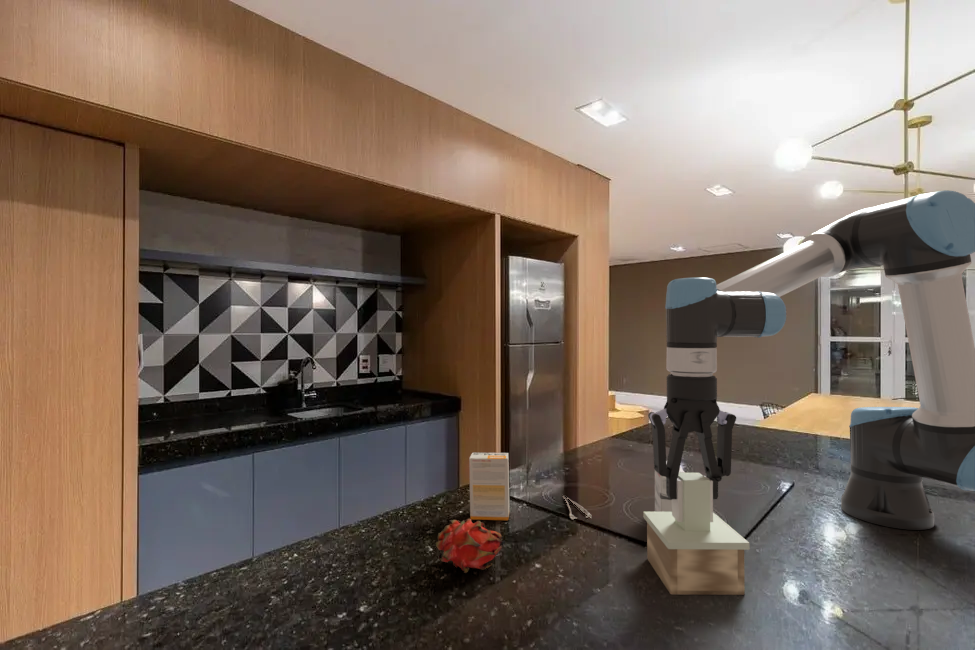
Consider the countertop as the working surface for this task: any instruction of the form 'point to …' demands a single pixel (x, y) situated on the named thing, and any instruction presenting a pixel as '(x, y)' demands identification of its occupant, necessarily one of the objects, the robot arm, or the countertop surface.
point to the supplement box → (489, 486)
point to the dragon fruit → (468, 544)
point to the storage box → (696, 568)
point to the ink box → (662, 493)
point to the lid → (695, 521)
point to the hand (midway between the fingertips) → (692, 518)
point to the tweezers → (578, 507)
